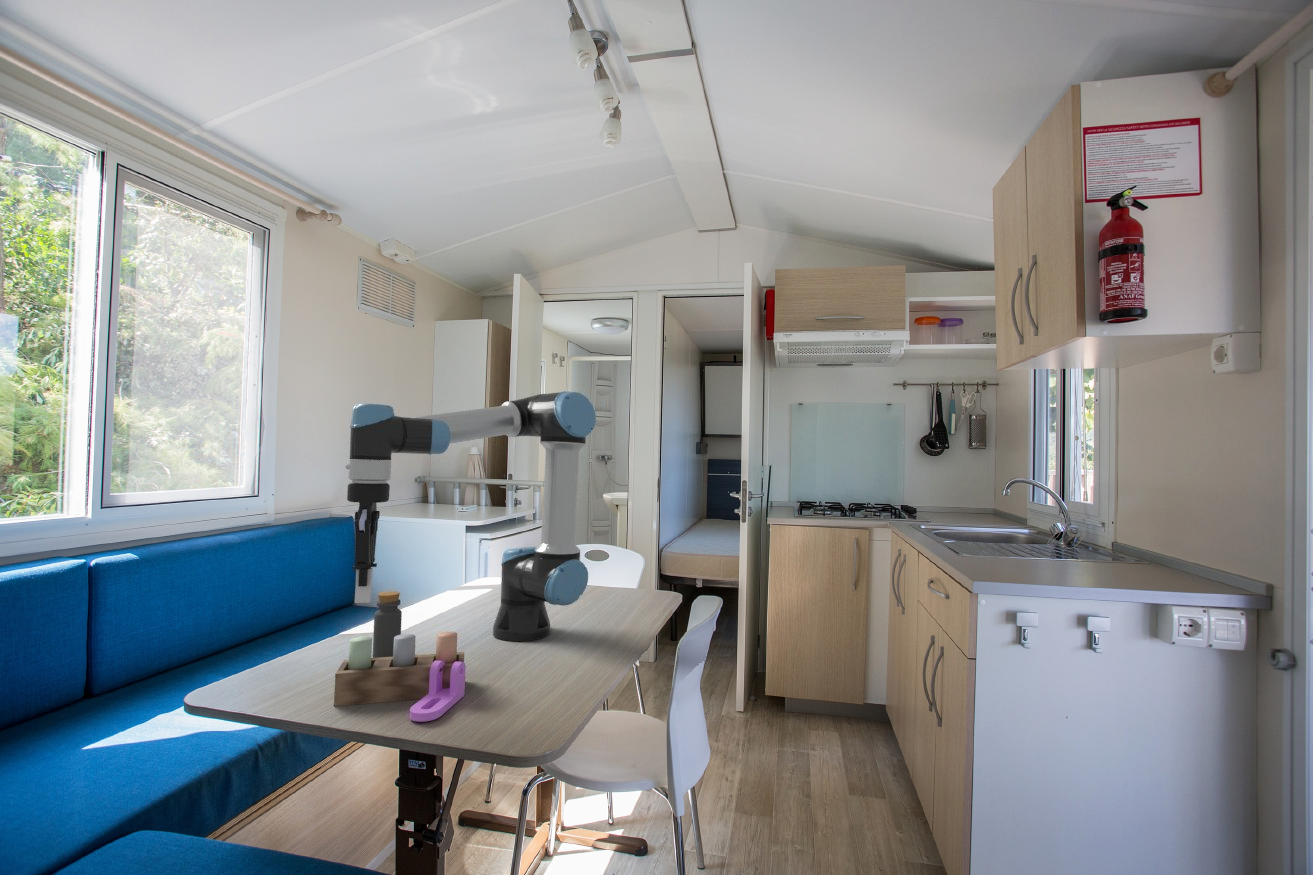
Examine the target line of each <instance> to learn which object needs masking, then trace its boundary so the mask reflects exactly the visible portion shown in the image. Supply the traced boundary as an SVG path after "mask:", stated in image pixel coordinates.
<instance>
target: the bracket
mask: <svg viewBox="0 0 1313 875" xmlns="http://www.w3.org/2000/svg"><path fill="white" fill-rule="evenodd" d="M443 665H445V663H444V661H434V662H433V663H432V665H431V668H430V677H429V693H428V694H427V695H426V696H425V697H424V698H422V699H419V700H418V701H417V702H416V703H415V704H413V705H412V706H410V707H409V719H410V720H411V721H412V722H429V721H430V722H431V721H434V720H437V719H439V718H440V717H441V716H443V715H444V714H445V713H446V712H447V711H449V709H450V708H452V707H453V706H454V705H455V704H457V703H458V702H459V701H460V700H461V699H463V697H464V696H465V695H466V694H465V691H466V689H465V688H466V663H465V661H464V662H457V661H456V662H454V664H453V665H452V668H451V673H450V688H446V689H442V674H443V670H442V671H441V672H439V671H440V668H442V669H443Z"/></svg>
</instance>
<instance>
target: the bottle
mask: <svg viewBox="0 0 1313 875" xmlns="http://www.w3.org/2000/svg"><path fill="white" fill-rule="evenodd" d="M400 594H401V593H400V591H397V590H386V591H381V592H379V593H377V596H378V600H377V601H376V607H377V608H378V610H376V611H375V613H374V617H373V618H374V619H373V636H372V658H380V657H393V649H394V637H395V636H397V635H402V619H403V618H402V613H403V612H402V610H401V609H400V608H398V607H399V606H400V605H401V599H400Z"/></svg>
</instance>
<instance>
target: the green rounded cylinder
mask: <svg viewBox="0 0 1313 875" xmlns="http://www.w3.org/2000/svg"><path fill="white" fill-rule="evenodd" d="M348 642H349V643H348V645H349V646H348V660H349V663H348V670H359V669H371V658H372V655H373V636H368V635H367V636H365V635H364V636H357V637H353V638H350V639H349V641H348Z"/></svg>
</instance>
